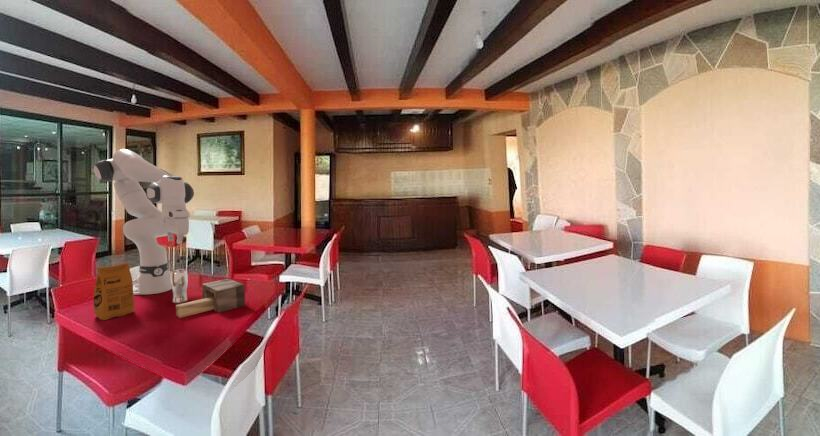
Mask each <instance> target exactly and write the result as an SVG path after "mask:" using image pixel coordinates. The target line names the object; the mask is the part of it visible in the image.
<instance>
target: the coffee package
mask: <svg viewBox="0 0 820 436" xmlns="http://www.w3.org/2000/svg"><path fill="white" fill-rule="evenodd" d="M133 286H134V284H133V277H132V273H131V269H130V265H129V262H124V263H120V264H117V265H110V266H109V265H108V266H97V276H96V279H95V283H94V288H93V289H94V290H93V313H94V314H95V317H96V318H98V319H99V320H100V321H106V320H110V319H113V318H115V317H118V318H120V317H123V316H126V315H129V314H131V313H134V312H135V299H134V298H135V297H134V296H135V295H134V294H133Z"/></svg>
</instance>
